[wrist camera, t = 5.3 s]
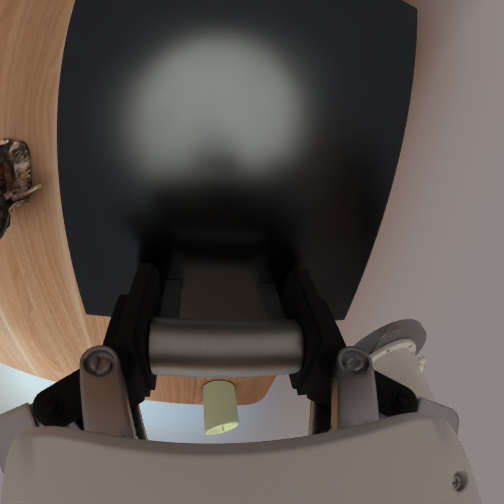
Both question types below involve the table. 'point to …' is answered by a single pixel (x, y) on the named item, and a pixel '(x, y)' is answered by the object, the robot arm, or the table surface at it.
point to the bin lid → (229, 163)
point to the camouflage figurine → (13, 180)
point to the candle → (219, 407)
